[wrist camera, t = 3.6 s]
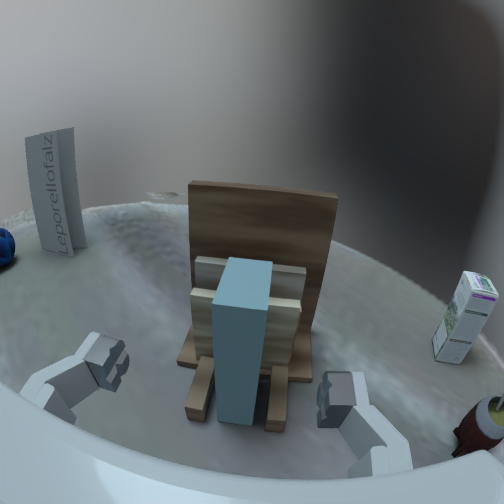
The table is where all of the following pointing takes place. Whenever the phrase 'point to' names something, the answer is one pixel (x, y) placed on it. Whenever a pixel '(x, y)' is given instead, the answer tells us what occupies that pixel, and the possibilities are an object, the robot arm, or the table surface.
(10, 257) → the bomb
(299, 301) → the offcut stack
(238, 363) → the light blue tall block
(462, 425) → the mate gourd
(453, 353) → the syrup box
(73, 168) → the brochure
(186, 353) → the offcut rack
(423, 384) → the table surface
